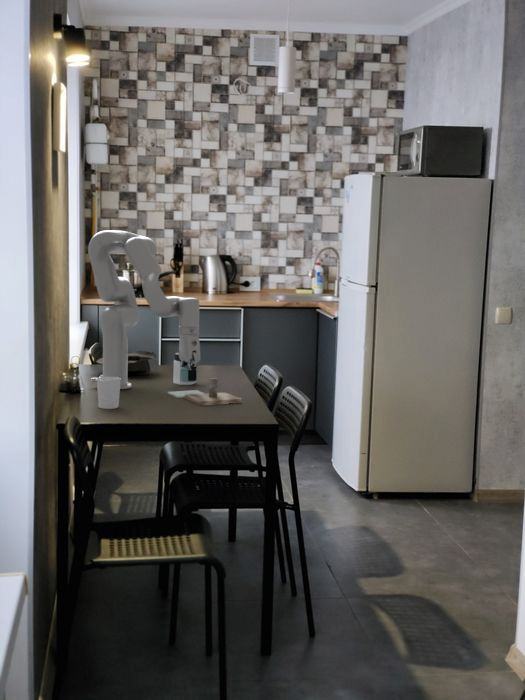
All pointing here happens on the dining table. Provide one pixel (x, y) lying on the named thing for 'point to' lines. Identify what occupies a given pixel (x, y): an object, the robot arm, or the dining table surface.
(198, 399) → the post base
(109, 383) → the white cup
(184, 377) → the cap
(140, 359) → the stone bowl
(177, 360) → the jar
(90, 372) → the dining table surface
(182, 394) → the mat
